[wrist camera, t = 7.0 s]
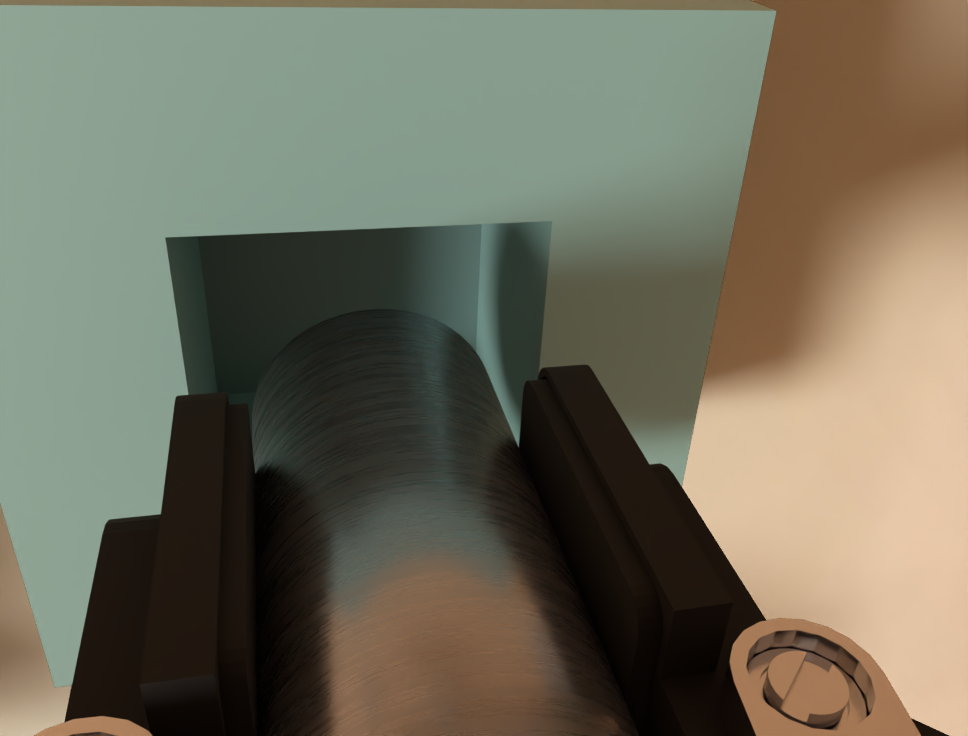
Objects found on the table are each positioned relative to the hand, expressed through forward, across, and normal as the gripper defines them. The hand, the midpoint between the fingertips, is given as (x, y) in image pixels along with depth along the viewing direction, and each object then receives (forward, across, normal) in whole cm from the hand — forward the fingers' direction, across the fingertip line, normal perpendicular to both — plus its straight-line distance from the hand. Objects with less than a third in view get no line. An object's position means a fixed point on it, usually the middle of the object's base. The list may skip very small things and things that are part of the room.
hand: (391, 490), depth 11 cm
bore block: (+8, 0, 0) cm, 8 cm away
